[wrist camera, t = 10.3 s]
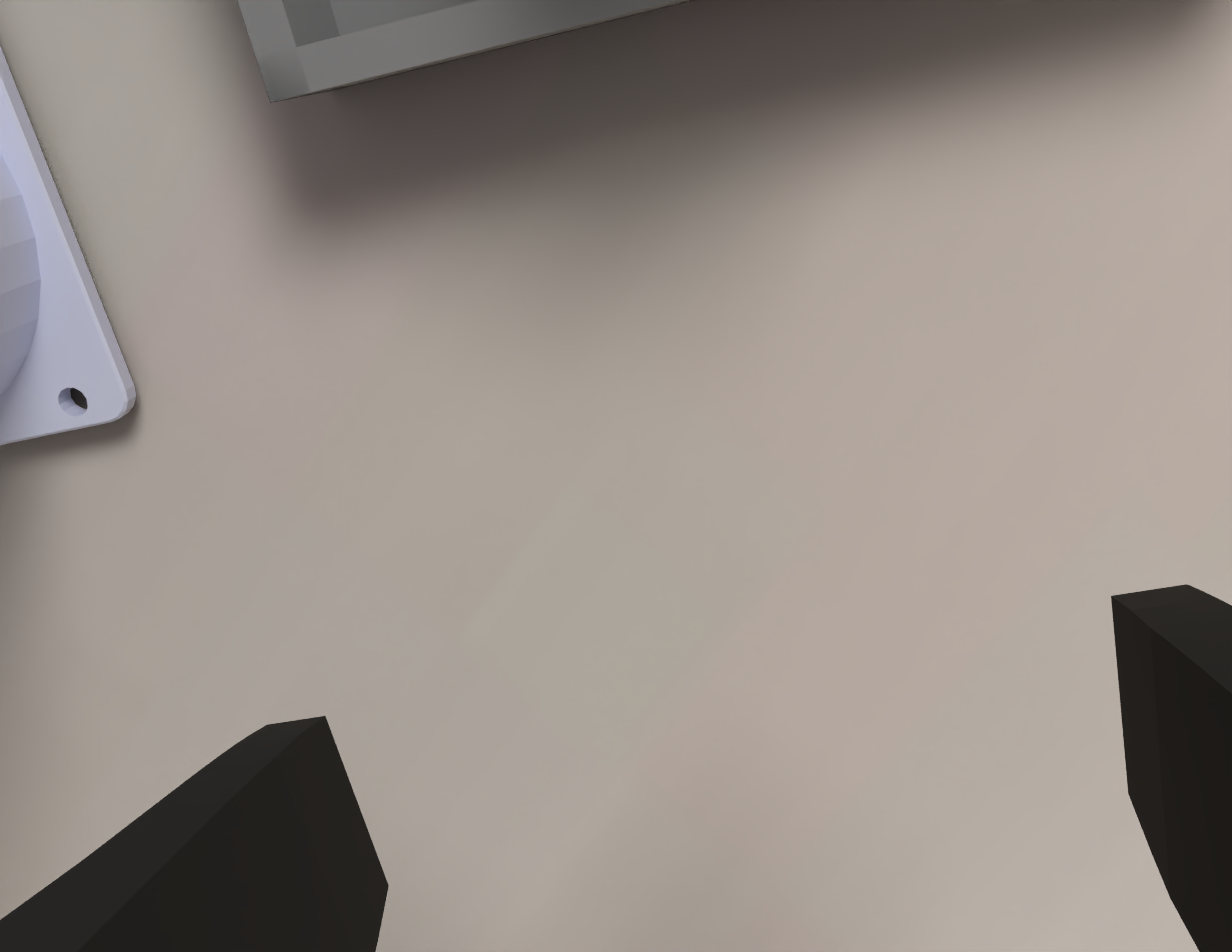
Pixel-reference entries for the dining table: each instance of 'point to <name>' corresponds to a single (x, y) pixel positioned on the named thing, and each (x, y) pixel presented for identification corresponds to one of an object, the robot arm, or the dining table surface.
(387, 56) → the parts bin
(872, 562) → the dining table surface
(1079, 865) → the dining table surface
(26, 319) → the robot arm
